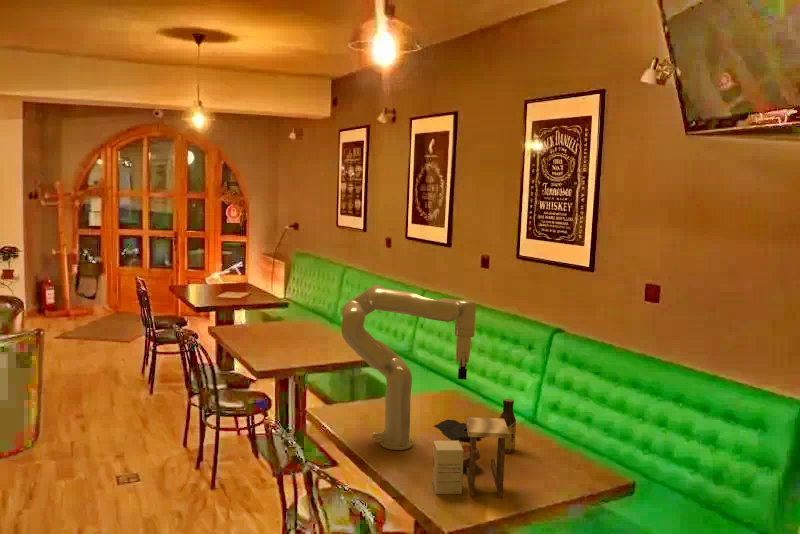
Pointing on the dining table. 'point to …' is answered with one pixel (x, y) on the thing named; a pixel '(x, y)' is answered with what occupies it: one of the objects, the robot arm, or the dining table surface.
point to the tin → (468, 455)
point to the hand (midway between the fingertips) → (462, 378)
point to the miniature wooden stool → (500, 431)
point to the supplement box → (447, 467)
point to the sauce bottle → (509, 424)
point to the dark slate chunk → (455, 430)
